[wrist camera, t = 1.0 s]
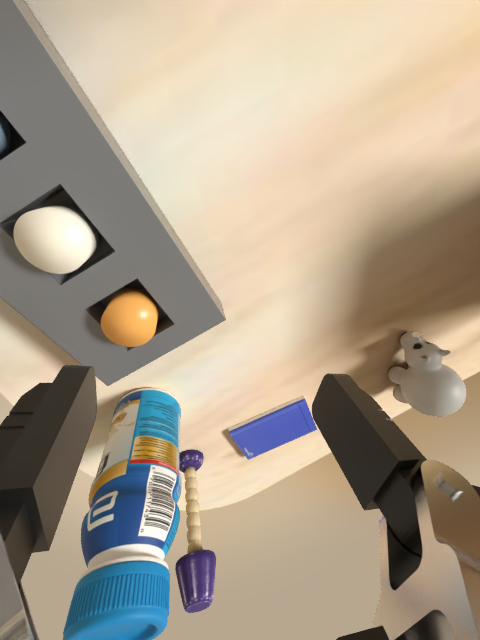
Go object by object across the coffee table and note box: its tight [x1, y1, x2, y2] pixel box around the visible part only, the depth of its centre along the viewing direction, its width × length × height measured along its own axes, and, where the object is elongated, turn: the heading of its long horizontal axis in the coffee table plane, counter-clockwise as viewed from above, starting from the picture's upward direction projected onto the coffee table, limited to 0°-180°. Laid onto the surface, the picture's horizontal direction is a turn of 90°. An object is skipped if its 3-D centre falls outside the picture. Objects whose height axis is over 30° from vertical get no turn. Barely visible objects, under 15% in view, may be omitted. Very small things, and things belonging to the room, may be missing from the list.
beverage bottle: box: [63, 388, 182, 640], centre depth 26 cm, size 8×8×20 cm
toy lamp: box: [176, 450, 216, 613], centre depth 34 cm, size 5×5×17 cm
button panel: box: [0, 0, 226, 386], centre depth 21 cm, size 26×14×4 cm, turn 29°
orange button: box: [101, 287, 159, 347], centre depth 24 cm, size 4×4×3 cm
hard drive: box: [228, 396, 317, 460], centre depth 41 cm, size 2×8×12 cm
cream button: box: [14, 204, 99, 274], centre depth 20 cm, size 4×4×3 cm
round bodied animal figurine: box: [388, 331, 466, 417], centre depth 36 cm, size 7×12×8 cm, turn 15°
